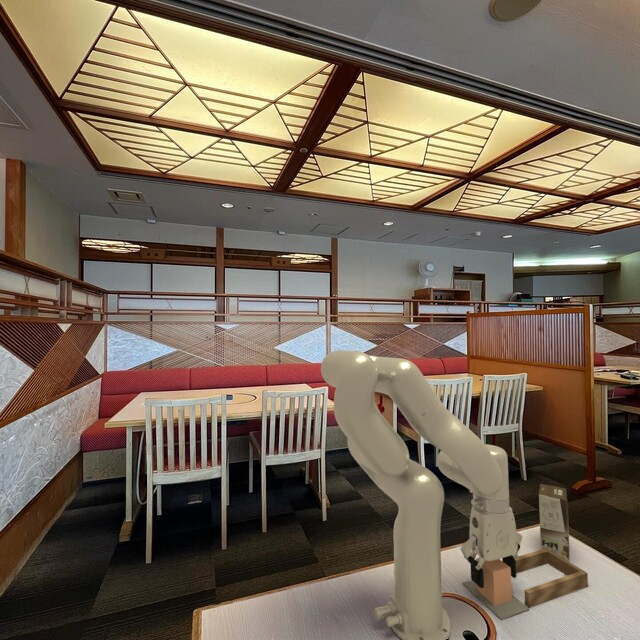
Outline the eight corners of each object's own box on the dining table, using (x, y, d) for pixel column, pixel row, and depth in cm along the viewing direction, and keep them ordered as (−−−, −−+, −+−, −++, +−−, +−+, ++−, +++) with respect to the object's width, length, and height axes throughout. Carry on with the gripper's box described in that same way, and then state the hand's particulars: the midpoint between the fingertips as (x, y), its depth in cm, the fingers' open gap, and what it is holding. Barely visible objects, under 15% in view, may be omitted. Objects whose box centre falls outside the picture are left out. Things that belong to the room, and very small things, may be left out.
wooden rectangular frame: (529, 607, 72) (528, 593, 72) (491, 576, 81) (491, 564, 82) (588, 586, 78) (587, 573, 78) (547, 560, 88) (546, 548, 88)
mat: (501, 620, 69) (501, 618, 69) (462, 583, 79) (462, 582, 79) (529, 610, 71) (529, 608, 71) (488, 576, 82) (488, 574, 82)
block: (494, 606, 72) (493, 572, 73) (477, 589, 77) (475, 558, 77) (512, 600, 74) (510, 567, 74) (493, 584, 78) (492, 554, 79)
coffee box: (570, 564, 86) (566, 500, 87) (540, 554, 90) (537, 493, 91) (570, 547, 93) (567, 488, 94) (542, 538, 97) (540, 482, 98)
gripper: (473, 516, 70) (476, 600, 69) (533, 502, 76) (536, 580, 75) (449, 500, 77) (451, 576, 76) (505, 488, 83) (508, 560, 82)
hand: (493, 578), depth 76 cm, fingers open, 9 cm apart
